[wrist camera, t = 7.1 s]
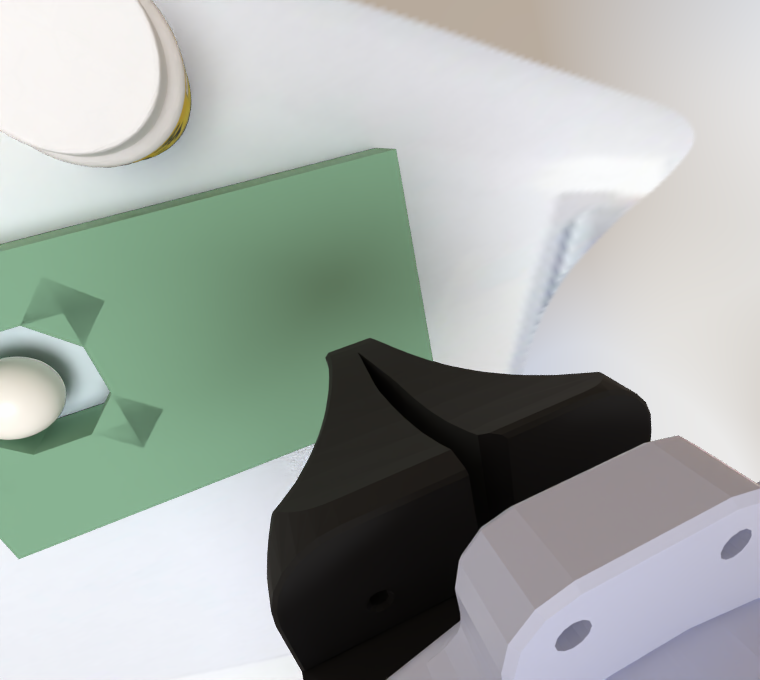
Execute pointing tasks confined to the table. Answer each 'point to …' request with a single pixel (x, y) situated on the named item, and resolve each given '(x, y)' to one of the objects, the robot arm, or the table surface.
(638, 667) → the robot arm
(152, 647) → the table surface
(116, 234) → the green
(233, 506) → the table surface
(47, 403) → the ball
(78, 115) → the supplement bottle
